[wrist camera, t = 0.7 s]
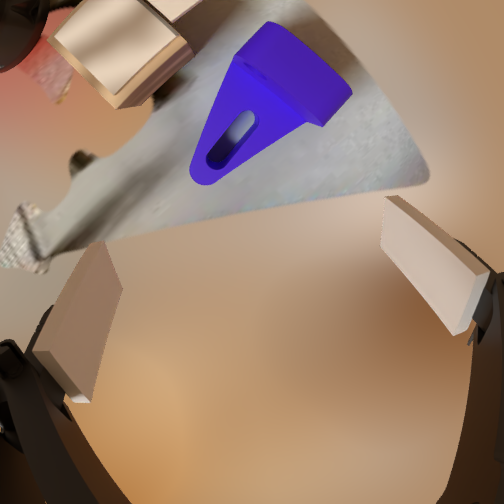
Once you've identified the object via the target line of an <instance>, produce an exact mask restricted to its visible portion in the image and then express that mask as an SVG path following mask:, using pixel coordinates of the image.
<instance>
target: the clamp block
mask: <svg viewBox="0 0 504 504" xmlns="http://www.w3.org/2000/svg"><path fill="white" fill-rule="evenodd" d="M47 41H48V42H49V43H50V44H51V45H52V46H53V47H54V48H55V49H56V50H57V51H58V52H59V53H60V54H61V55H62V56H63V57H64V58H65V59H66V60H67V61H68V62H69V63H70V64H71V65H72V66H73V67H74V68H75V69H76V70H77V71H78V72H79V73H80V74H81V75H82V76H83V77H84V78H85V79H86V80H87V81H88V82H89V83H90V84H91V85H92V86H93V87H94V88H95V89H96V90H97V91H98V92H99V93H100V94H101V95H102V96H103V97H104V98H105V99H106V100H107V101H108V102H109V103H110V104H111V105H112V106H113V107H114V108H115V109H122V108H128V107H134V106H140V105H142V104H143V103H144V102H145V101H146V100H147V99H148V98H149V97H150V96H151V95H152V94H153V93H154V92H155V91H156V90H157V89H158V88H159V87H160V86H161V85H163V84H164V83H165V82H166V81H167V80H168V79H169V78H170V77H171V76H172V75H174V74H175V73H176V72H177V71H178V70H179V69H180V68H182V67H183V66H184V65H185V64H186V63H188V62H189V61H190V60H191V59H192V58H194V57H195V55H194V53H193V51H192V50H191V48H190V46H189V44H188V42H187V41H186V40H185V39H184V38H183V37H182V36H180V34H179V33H178V32H177V31H176V30H175V29H174V28H173V27H172V26H171V25H170V24H169V23H167V22H166V21H165V20H164V19H163V18H162V17H161V16H160V15H159V14H158V13H156V12H155V11H154V10H153V9H152V8H151V7H150V6H149V5H147V4H146V3H145V2H144V1H143V0H83V1H82V2H81V3H80V4H79V5H78V6H77V7H76V8H75V9H74V10H73V11H72V12H71V13H70V14H69V15H68V16H67V17H66V18H65V20H64V21H63V22H62V23H61V24H60V25H59V26H58V27H57V29H56V30H55V31H54V32H53V33H52V34H51V36H50V37H49V38H48V39H47Z"/></svg>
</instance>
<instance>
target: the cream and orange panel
mask: <svg viewBox="0 0 504 504" xmlns="http://www.w3.org/2000/svg"><path fill="white" fill-rule="evenodd" d="M147 1H148V2H149V3H150V4H152V5H153V6H154V7H155V8H156V9H157V10H158V11H159V12H161V13H162V14H163V15H164V16H165V17H166V18H167V19H168V20H169V21H170V22H172V23H174V22H175V21H176V20H178V19H179V18H180V17H181V16H183V15H184V14H185V13H187V12H188V11H189V10H191V9H192V8H193V7H195V6H196V5H197V4H199V3H200V2H202V1H203V0H147Z"/></svg>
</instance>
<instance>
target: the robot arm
mask: <svg viewBox="0 0 504 504" xmlns="http://www.w3.org/2000/svg"><path fill="white" fill-rule="evenodd" d="M48 13H49V0H0V73H3V72H6V71H8V70H10V69H12V68H13V67H15V66H16V65H17V64H19V63H20V62H21V61H22V60H23V59H24V58H25V57H26V56H27V55H28V54H29V52H30V51H31V50H32V48H33V47H34V46H35V44H36V42H37V41H38V39H39V37H40V35H41V33H42V31H43V29H44V26H45V24H46V21H47V17H48ZM380 247H381V248H382V249H383V251H384V252H385V253H386V254H387V255H388V256H389V257H390V258H391V260H392V261H393V262H394V263H395V264H396V265H397V267H398V268H399V269H400V270H401V271H402V272H403V274H404V275H405V276H406V277H407V278H408V279H409V281H410V282H411V283H412V284H413V285H414V287H415V288H416V289H417V290H418V291H419V293H420V294H421V295H422V296H423V298H424V299H425V300H426V301H427V303H428V304H429V305H430V306H431V308H432V309H433V310H434V312H435V313H436V314H437V315H438V317H439V318H440V319H441V321H442V322H443V323H444V325H445V326H446V327H447V328H448V330H449V331H450V333H451V334H452V335H453V336H454V335H456V334H459V333H461V332H464V331H466V330H467V329H468V326H469V324H470V322H471V320H472V318H473V320H474V321H475V322H476V323H477V324H476V326H475V328H474V330H473V333H472V335H471V337H470V339H469V341H468V345H470V343H471V341H473V355H472V366H471V376H470V384H469V392H468V399H467V405H466V411H465V417H464V422H463V427H462V432H461V436H460V441H459V445H458V449H457V453H456V457H455V460H454V464H453V468H452V471H451V475H450V478H449V481H448V484H447V487H446V489H445V491H444V493H443V495H442V496H441V497H440V499H439V500H438V501H437V503H436V504H504V272H501V273H498V274H497V273H496V272H495V271H494V270H493V269H492V268H491V267H490V266H489V265H488V264H486V263H485V262H484V261H483V260H482V259H481V258H480V257H479V256H478V257H477V255H476V254H475V253H474V252H473V251H471V249H470V248H468V247H467V246H466V245H465V244H464V243H462V242H460V241H458V240H456V239H454V238H452V237H451V236H450V235H449V234H447V233H446V232H445V231H444V230H443V229H441V228H440V227H439V226H438V225H436V224H435V223H434V222H433V221H431V220H430V219H429V218H427V217H426V216H425V215H424V214H422V213H421V212H419V211H418V210H417V209H416V208H414V207H413V206H412V205H410V204H409V203H408V202H406V201H405V200H403V199H402V198H401V197H399V196H398V195H397V196H387V197H385V199H384V212H383V223H382V234H381V243H380ZM122 290H123V288H122V286H121V283H120V281H119V278H118V276H117V273H116V271H115V268H114V266H113V264H112V261H111V258H110V255H109V253H108V250H107V247H106V245H105V242H104V241H100V242H95V243H90V244H89V246H88V248H87V249H86V251H85V252H84V254H83V256H82V257H81V259H80V260H79V262H78V264H77V266H76V267H75V269H74V271H73V272H72V274H71V276H70V278H69V279H68V281H67V283H66V284H65V286H64V288H63V290H62V292H61V294H60V295H59V297H58V299H57V301H56V303H55V305H52V306H51V307H50V308H49V309H48V310H47V311H46V312H45V313H44V315H43V317H42V318H41V320H40V322H39V325H38V326H37V328H36V332H35V333H34V334H33V336H32V338H31V340H30V343H29V345H28V347H27V349H26V351H25V353H24V354H23V352H22V351H21V350H20V348H19V347H18V346H17V344H16V343H15V341H14V340H11V339H7V340H4V341H2V342H0V427H1V432H0V504H46V503H47V504H131V503H130V501H129V500H128V499H127V497H126V496H125V495H124V494H123V492H122V491H121V490H120V488H119V487H118V486H117V484H116V483H115V482H114V480H113V479H112V478H111V476H110V475H109V473H108V472H107V471H106V469H105V468H104V467H103V465H102V464H101V462H100V460H99V459H98V457H97V456H96V454H95V453H94V451H93V450H92V448H91V446H90V445H89V443H88V441H87V440H86V438H85V436H84V435H83V433H82V431H81V430H80V428H79V426H78V424H77V423H76V421H75V419H74V417H73V416H72V413H71V411H70V410H69V408H68V406H67V405H66V404H65V403H64V401H63V400H64V396H65V393H66V394H67V395H68V396H69V397H70V399H71V400H72V401H73V402H80V403H91V400H92V395H93V391H94V386H95V382H96V378H97V374H98V370H99V366H100V363H101V359H102V355H103V352H104V348H105V345H106V341H107V338H108V334H109V331H110V327H111V324H112V321H113V318H114V314H115V311H116V308H117V305H118V302H119V299H120V296H121V293H122ZM44 499H45V500H44ZM45 501H46V503H45Z"/></svg>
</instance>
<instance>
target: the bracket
mask: <svg viewBox="0 0 504 504" xmlns="http://www.w3.org/2000/svg"><path fill="white" fill-rule="evenodd" d="M352 94H353V93H352V90H351V88H350V87H349V85H348V84H347V83H346V82H345V81H344V80H343V79H342V78H341V77H340V76H339V75H338V74H337V73H336V72H335V71H334V70H333V69H332V68H331V67H330V66H329V65H328V64H327V63H325V62H324V61H323V60H322V59H321V58H320V57H319V56H318V55H317V54H315V53H314V52H313V51H312V50H311V49H310V48H309V47H307V46H306V45H305V44H304V43H303V42H301V41H300V40H299V39H298V38H297V37H295V36H294V35H293V34H292V33H290V32H289V31H288V30H286V29H285V28H283V27H282V26H280V25H278V24H276V23H274V22H269V21H268V22H266V23H265V24H264V25H263V26H262V27H261V28H260V29H259V30H258V31H257V32H256V33H255V34H254V35H253V36H252V37H251V38H250V39H249V40H248V41H247V42H246V43H245V44H244V45H243V47H242V48H241V49H240V50H239V51H238V52H237V53H236V54H235V55H234V57H233V60H232V62H231V64H230V66H229V69H228V71H227V73H226V76H225V78H224V80H223V82H222V85H221V87H220V89H219V92H218V94H217V97H216V99H215V101H214V104H213V106H212V109H211V111H210V114H209V116H208V119H207V121H206V124H205V126H204V129H203V132H202V134H201V137H200V140H199V142H198V145H197V148H196V150H195V153H194V156H193V159H192V161H191V164H190V169H189V171H190V175H191V177H192V179H193V180H194V181H195V182H196V183H198V184H201V185H211V184H213V183H215V182H216V181H218V180H219V179H221V178H222V177H223V176H225V175H226V174H228V173H229V172H231V171H232V170H233V169H235V168H236V167H238V166H239V165H241V164H242V163H244V162H245V161H247V160H248V159H250V158H251V157H253V156H254V155H256V154H257V153H259V152H260V151H262V150H263V149H265V148H266V147H268V146H269V145H271V144H272V143H274V142H275V141H277V140H278V139H280V138H282V137H283V136H285V135H286V134H288V133H289V132H291V131H293V130H294V129H296V128H297V127H299V126H301V125H302V124H304V123H305V122H309V123H312V124H315V125H318V126H321V127H323V126H324V125H325V124H326V123H327V122H328V121H329V120H330V118H331V117H332V116H333V115H334V114H335V113H336V112H337V111H338V110H339V108H340V107H341V106H342V105H343V104H344V103H345V102H346V101H347V100H348V99H349V97H350V96H351V95H352ZM245 110H251V111H252V112H253V114H254V116H255V121H254V124H253V125H252V126H251V127H250V128H249V130H248V131H247V132H246V133H245V134H244V136H243V137H242V138H241V139H240V140H239V142H238V143H237V144H236V145H235V147H234V148H233V149H232V150H231V151H230V153H229V154H228V155H227V156H226V158H225V159H224V160H223V161H221V162H213V161H211V160H210V159H209V158H208V156H207V153H208V152H209V151H210V149H211V148H212V147H213V146H214V144H215V143H216V142H217V141H218V139H219V138H220V137H221V136H222V134H223V133H224V132H225V131H226V129H227V128H228V127H229V126H230V124H231V123H232V122H233V121H234V120H235V118H236V117H237V116H238V115H239V114H240V113H241V112H242V111H245Z"/></svg>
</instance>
